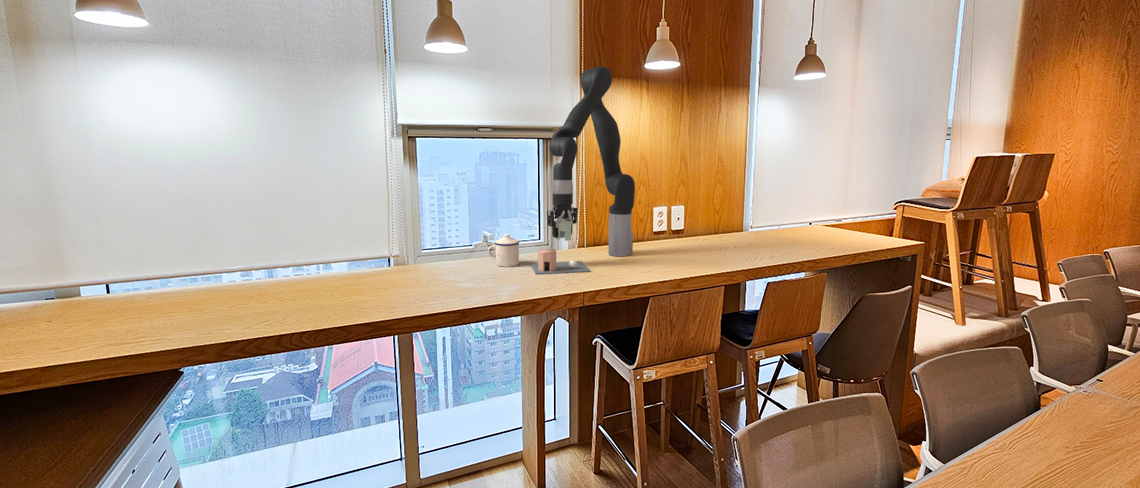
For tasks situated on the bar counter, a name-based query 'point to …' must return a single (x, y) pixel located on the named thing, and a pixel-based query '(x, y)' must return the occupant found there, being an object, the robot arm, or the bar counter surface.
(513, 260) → the teacup with lid
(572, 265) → the ivory ball
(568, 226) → the green piece
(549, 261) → the terracotta cup
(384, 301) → the bar counter surface
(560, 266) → the slate mat
